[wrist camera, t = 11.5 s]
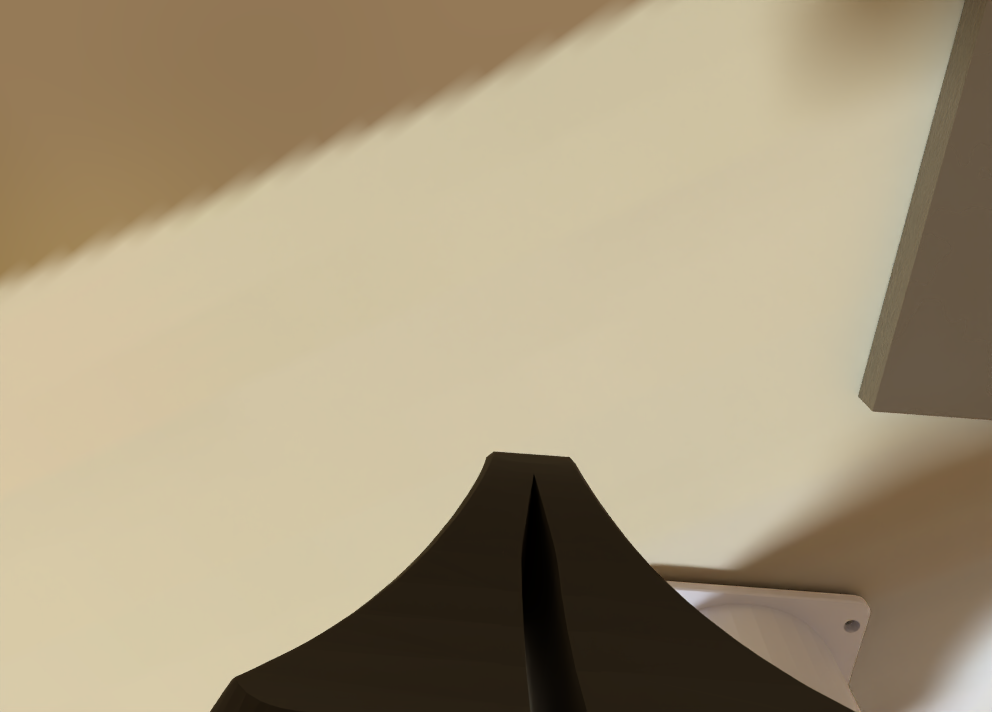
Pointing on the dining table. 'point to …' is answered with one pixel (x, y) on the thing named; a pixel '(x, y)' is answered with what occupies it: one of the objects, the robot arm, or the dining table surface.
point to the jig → (945, 253)
